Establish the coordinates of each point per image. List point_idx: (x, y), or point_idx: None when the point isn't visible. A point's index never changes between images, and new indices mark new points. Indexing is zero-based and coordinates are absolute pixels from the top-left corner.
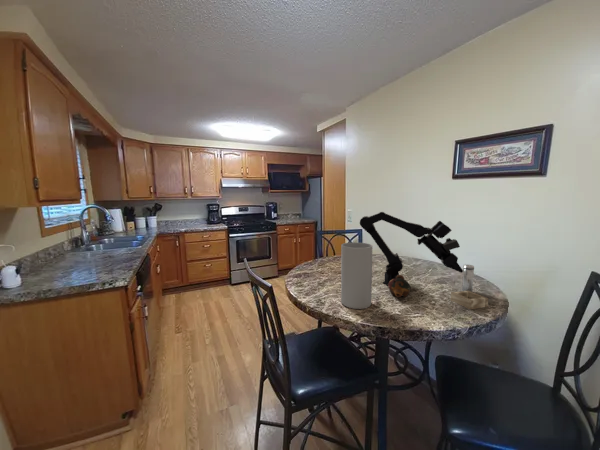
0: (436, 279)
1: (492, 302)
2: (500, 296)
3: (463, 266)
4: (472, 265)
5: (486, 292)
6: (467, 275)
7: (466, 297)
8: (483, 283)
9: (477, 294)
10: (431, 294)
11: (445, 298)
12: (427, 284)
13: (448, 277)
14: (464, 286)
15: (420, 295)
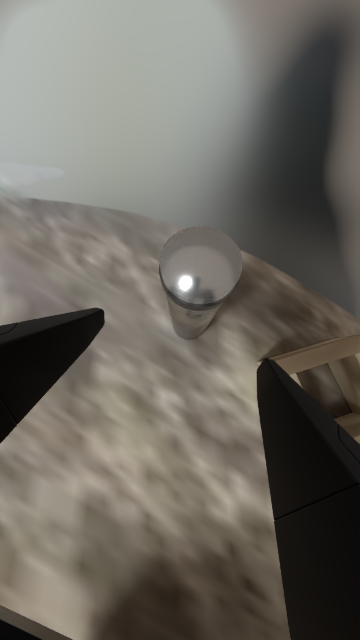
0: None
1: (284, 300)
2: None
3: (183, 300)
4: (192, 227)
5: None
6: (216, 312)
7: None
8: (108, 220)
9: (321, 350)
10: (231, 513)
11: None
12: (95, 456)
13: (22, 299)
14: (198, 334)
15: (251, 596)
